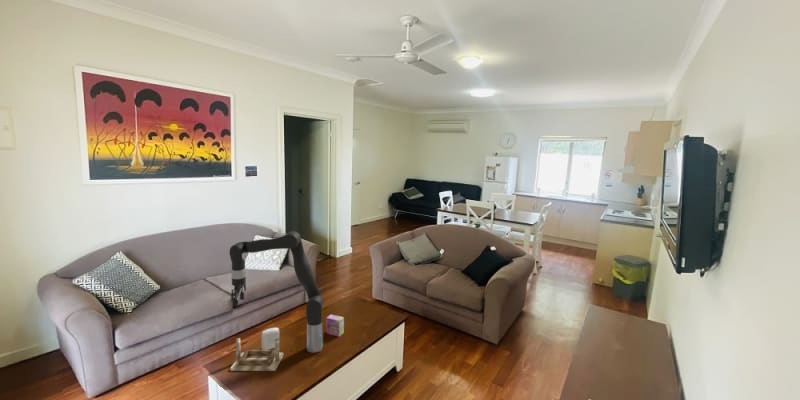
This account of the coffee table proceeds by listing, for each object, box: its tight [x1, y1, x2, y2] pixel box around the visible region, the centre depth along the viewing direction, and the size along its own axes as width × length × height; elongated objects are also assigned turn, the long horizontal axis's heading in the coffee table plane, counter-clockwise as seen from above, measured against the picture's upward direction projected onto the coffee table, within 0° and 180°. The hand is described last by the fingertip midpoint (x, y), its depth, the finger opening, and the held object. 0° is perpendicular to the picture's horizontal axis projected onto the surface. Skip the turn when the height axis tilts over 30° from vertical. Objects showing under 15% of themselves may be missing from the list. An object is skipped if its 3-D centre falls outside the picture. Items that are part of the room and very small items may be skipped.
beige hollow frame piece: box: [230, 337, 284, 372], centre depth 185 cm, size 24×15×14 cm, turn 93°
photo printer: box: [261, 327, 280, 350], centre depth 200 cm, size 10×4×12 cm, turn 123°
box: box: [325, 314, 345, 338], centre depth 219 cm, size 10×6×12 cm, turn 68°
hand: (239, 302), depth 195 cm, fingers open, 8 cm apart
